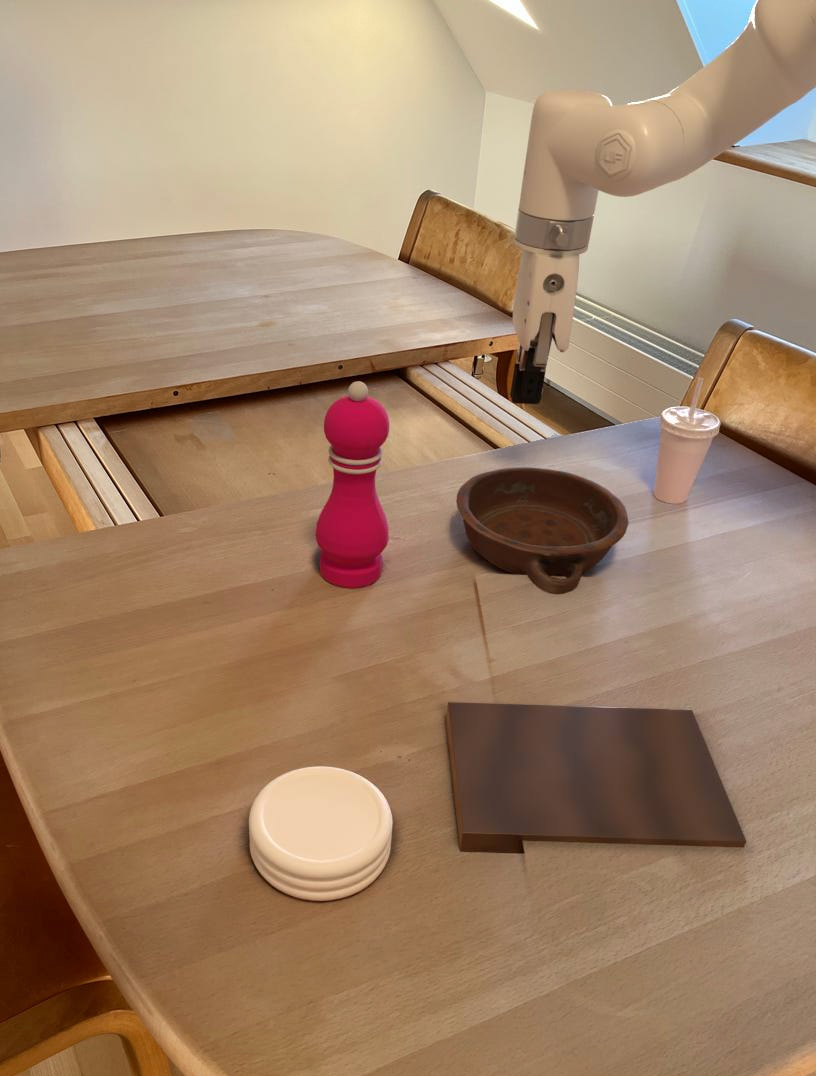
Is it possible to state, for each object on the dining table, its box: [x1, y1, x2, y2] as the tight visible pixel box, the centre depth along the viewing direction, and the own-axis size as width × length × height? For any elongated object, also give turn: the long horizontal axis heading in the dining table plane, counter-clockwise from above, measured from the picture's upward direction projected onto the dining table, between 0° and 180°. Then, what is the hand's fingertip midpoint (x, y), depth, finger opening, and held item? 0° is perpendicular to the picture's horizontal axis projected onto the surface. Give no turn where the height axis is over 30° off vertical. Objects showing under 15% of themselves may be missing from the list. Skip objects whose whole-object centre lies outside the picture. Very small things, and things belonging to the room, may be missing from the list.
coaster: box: [248, 765, 394, 902], centre depth 68 cm, size 10×10×4 cm
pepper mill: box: [314, 380, 390, 589], centre depth 92 cm, size 7×7×20 cm
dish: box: [456, 466, 629, 595], centre depth 101 cm, size 18×22×5 cm
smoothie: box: [653, 377, 722, 505], centre depth 108 cm, size 6×6×14 cm
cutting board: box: [445, 701, 747, 854], centre depth 74 cm, size 20×14×2 cm
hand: (524, 400), depth 109 cm, fingers closed
